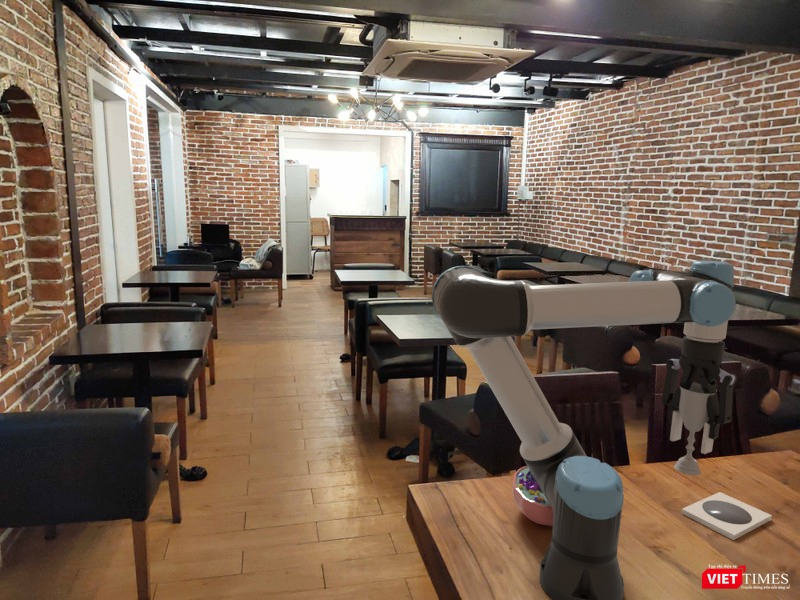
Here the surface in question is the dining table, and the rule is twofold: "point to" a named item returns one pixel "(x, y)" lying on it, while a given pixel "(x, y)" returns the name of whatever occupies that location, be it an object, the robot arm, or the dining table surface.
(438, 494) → the dining table surface
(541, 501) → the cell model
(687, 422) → the chalice
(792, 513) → the dining table surface
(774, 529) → the dining table surface
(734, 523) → the serving tile
